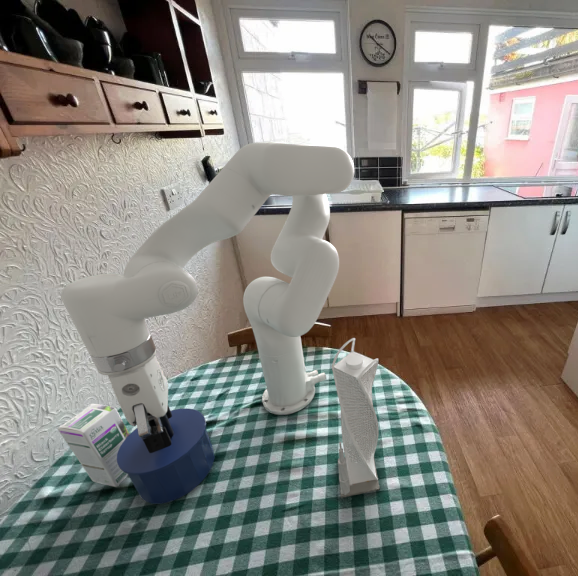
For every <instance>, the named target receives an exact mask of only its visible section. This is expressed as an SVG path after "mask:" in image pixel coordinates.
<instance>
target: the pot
mask: <svg viewBox="0 0 578 576" xmlns="http://www.w3.org/2000/svg"><path fill="white" fill-rule="evenodd" d="M214 462H215V451H214V447H213V444H212V441H211V439H210V436H209V433H208V430H207V429H206V430H205V433H204V435H203V437H202V439H201V440H200V442H199V443H198V444H197V446H196V447H195V448H194V449H193V450H192V451H191V452H190V453H189V454H188V455H186V456H185V457H184V458H182V459H181V460H180V461H178V462H176V463H175V464H173V465H171V466H169V467H167V468H165V469H163V470H160V471H158V472H154V473H151V474H146V475H131V474H128V476H127V477H129V479H130V481H131V483H132V484H133V487H134V488H135V491H136V492H137V493H138V495H139V496H140V498H141V499H142V500H143V501H144V502H146V503H149V504H153V505H163V504H166V503H170V502H173V501H176V500H178V499H180V498H182V497H184V496H186V495H187V494H189V493H190V492H192V491H193V490H194V489H196V488H197V487H198V486H199V485H200V484H201V483H202V482H203V481H204V480H205V479H206V478H207V476H208V474H209V473H210V471H211V470H212V468H213V465H214Z"/></svg>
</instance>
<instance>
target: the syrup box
mask: <svg viewBox="0 0 578 576" xmlns="http://www.w3.org/2000/svg"><path fill="white" fill-rule="evenodd" d="M57 431H58V432H59V434H60V435H61V437H62V438H63V440H64V441H65V443H66V445H67V446H68V448H69V449H70V450H71V451H72V453H73V454H74V456H75V457H76V459H77V461H78V462H79V463H80V465H81V466H82V468H83V469H84V471H85V472H86V474H87V475H88V477H89V478H90V480H91V481H92V482H94V483H97V484H100V485H105V486H110V487H114V488H118V487H119V485H120V484H121V483H122V482H124V480H125V479H126V478H127V477H129V476H128V474H127V473H125V472H123V471H122V470H121V469H120V468H119V466H118V464H117V454H118V450H119V448H120V446H121V445H122V443H123V442H124V440H125V439H126V438H127V437H128V436H129V435H130V434H131V433H130V432H129V431H128V429H127V427H126V425H125V423H124V421H123V419H122V417H121V415H120V413H119V412H118V409H117V408H116V407H114V406H110V405H105V404H99V403H90V404H88V405H87V407H86V408H84V409H83V410H81V411H80V412H79V413H77V414H76V415H74V416H72V417H71V418H70V419H68V420H67V421H66V422H65V423H62V424H61V425H60V426H59V427H58V428H57Z"/></svg>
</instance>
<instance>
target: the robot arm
mask: <svg viewBox="0 0 578 576" xmlns="http://www.w3.org/2000/svg"><path fill="white" fill-rule="evenodd" d="M354 176H355V165H354V161H353V159H352V157H351V156H350V154H349V153H348V152H347V151H346V150H344V149H343V148H342V147H339V146H336V145H317V144H301V143H291V142H282V141H268V142H266V141H265V142H264V141H263V142H262V141H261V142H249V143H247V144H245V145H244V146H242V147H240V148H239V149H238V150H237V151H236V152H235V153H234V154H233V156H232V157H231V158H230V159H229V161H228V162H227V163H225V165H224V166H223V167H222V168H221V169H220V171H219V172H218V173H217V174H216V175H215V176H214V178H213V179H212V180H211V181H210V182H209V183H208V185H206V187H205V188H204V189H203V190H202V191H201V193H200V194H199V195H197V197H196V198H195V199H194V200H193V201H192V202H190V203H189V204H187V205H186V206H185V207H183V208H182V209H181V210H178V212H177V213H175V214H174V215H172V217H170V218H169V219H167V220H166V221H165V222H163V223H162V224H161V225H160V226H158V227H157V228H156V229H155V230H154V232H152V233H151V234H150V235H149V237H147V239H146V240H145V241H144V242H143V243H142V244H141V245H140V247H139V248H138V249H137V250H136V251H135V252H134V253H133V255H132V256H131V257H130V258H129V260H128V261H127V263H126V265H125V267H124V269H123V273H122V274H118V273H99V274H93V275H89V276H85V277H82V278H79V279H75V280H74V281H71V282H70V283H67V285H65V286H64V287H63V288H62V290H61V293H60V298H61V301H62V303H63V306H64V307H65V309H66V311H67V313H68V315H69V317H70V319H71V322H72V323H73V325H74V327H75V329H76V331H77V333H78V335H79V336H80V339H81V341H82V343H83V344H84V347H85V348H86V350H87V352H88V355H89V356H90V358H91V360H92V362H93V364H94V366H95V368H96V370H97V372H98V373H99V374H100V375H103V376H108V380H109V382H110V385H111V388H112V390H113V393H114V395H115V397H116V400H117V403H118V405H119V407H120V409H121V412H122V413H123V416H124V417H125V419H126V421H127V423H128V424H129V425H130V426H132V427H136V428H137V429H138V434H139V437H141V438H142V439H143V441H144V443H145V445H146V447H147V449H148V451H149V453H153V452H156V451H158V450H161V449H163V448H166V447H168V446H170V445H171V439H170V437H169V435H168V433H167V430H166V428H165V427H162V424H161V421H160V417H161V416H162V417H163V416H164V415H165V414H166V415H167V418H168V419H169V418H171V417H172V413H171V408H170V406H169V384H168V379H167V377H166V375H165V374H164V371H163V368H162V367H161V365H160V362H159V360H158V358H157V356H156V355H157V353H158V349H157V347H156V344H155V341H154V339H153V337H152V335H151V332H150V330H149V327H148V324H147V322H146V319H149V318H154V317H159V316H165V315H170V314H174V313H177V312H181V311H183V310H185V309H186V308H188V307H189V306H191V305H192V304H193V303H194V302H195V300H196V298H197V296H198V293H199V286H198V283H197V281H196V279H195V277H194V276H192V274H191V273H190V272H188V271H186V270H185V269H183V268H184V267H185V266H186V265H187V264H188V263H189V262H190V260H191V259H192V258H193V257H194V256H195V255H196V254H197V253H199V252H200V251H201V250H203V249H204V248H206V247H208V246H210V245H212V244H215V243H217V242H220V241H224V240H228V239H230V238H233V237H234V236H238V235H239V234H241V233H242V232H243V230H244V229H245V228H246V227H247V226H248V224H249V223H250V222H251V220H252V219H253V218H254V216H255V215H256V214H257V213H258V211H259V210H260V209H261V207H262V206H263V205H264V204H265V202H266V201H267V200H268V199H269V197H270V196H271V195H277V196H278V195H279V196H283V197H285V196H287V197H292V201H291V202H292V203H291V208H290V210H289V213H288V216H287V218H286V220H285V222H284V224H283V226H282V228H281V230H280V232H279V234H278V236H277V238H276V240H275V242H274V244H273V246H272V249H271V252H270V263H271V265H272V267H273V268H274V269H275V270H276V271H277V272H279V273H281V274H283V275H285V276H287V277H289V278H291V280H290V282H287V281H285V280H283V279H280V278H277V277H274V276H260V277H257V278H255V279H253V280H252V281H251V282H250V283H249V284H248V285H247V286H246V288H245V290H244V293H243V297H242V298H243V299H242V301H243V302H242V304H243V308H244V309H243V310H244V312H245V315H246V317H247V319H248V322H249V324H250V327H251V330H252V333H253V336H254V340H255V343H256V347H257V353H258V357H259V362H260V366H261V370H262V374H263V379H264V384H265V390H264V392H263V394H262V396H261V400H262V401H261V403H262V405H263V407H264V409H265V410H266V411H267V412H269V413H271V414H274V415H277V416H284V415H285V416H286V415H291V414H295V413H297V412H299V411H302V410H303V409H304V408H305V407H307V406H308V405H309V404H310V403H311V402H312V400H313V399H314V397H315V393H316V387H315V386H316V384H317V383H321V382H324V381H326V380H327V374H326V373H325V372H321V373H319V372H318V369H314V370H312V371H310V372H308V371H306V364H305V357H304V351H303V345H302V338H301V336H303V335H305V334H307V333H308V332H309V331H310V330H311V329H312V328H313V327H314V325H315V324H316V322H317V320H318V318H319V316H320V314H321V313H322V310H323V308H324V306H325V303H326V301H327V300H328V297H329V295H330V293H331V290H332V289H333V286H334V284H335V282H336V279H337V277H338V274H339V269H340V256H339V253H338V251H337V248H336V247H335V246H334V245H333V244H332V243H331V242H329V241H327V240H325V239H323V238H324V236H325V234H326V231H327V229H328V226H329V223H330V219H331V208H330V204H329V199H328V196H327V195H328V194H329V195H330V194H331V195H332V194H338V193H341V192H343V191H345V190H347V188H348V187H350V185H351V184H352V182H353V180H354ZM147 413H150V414H151V415H150V416H147ZM151 420H154V421H155V424H156V426H152V427H151V426H150V425H149V422H148V421H151Z"/></svg>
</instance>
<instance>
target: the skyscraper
mask: <svg viewBox="0 0 578 576" xmlns="http://www.w3.org/2000/svg"><path fill="white" fill-rule="evenodd" d="M350 343H351V350H350V352H349V353H347V354H346V355H345V356H343V358H341V359H340V360H339V361H337V359H338V357H339V355H340V354H341V352H342V351H343V350H344V349H345V347H346V346H348V344H350ZM355 344H356V338H355V337H352V338H350V339H348V341H346V342H345V343H344V344H343V345H342V346H341V347H340V348H338V350H337V352H336V354H335V355H334V358H333V361H332V364H331V369H332V374H333V375H332V376H333V379H334V384H335V389H336V390H335V391H336V395H337V398H338V403H339V406H340V428H341V438H342V442H341V441H339V442H338V446H339V448H338V457H339V458H338V459H337V465H338V480H339V490H340V491H339V493H340V498H342V499H343V498H346V497H347V498H348V497H351V496H356V495H361V494H366V493H371V492H376V491H380V485H379V484H380V483H379V477H378V472H377V467H376V462H375V461H376V460H375V453H376V450H377V447H378V441H379V434H380V433H379V430H380V429H379V421H378V417H377V413H376V410H375V407H374V404H373V386H374V382H375V377H376V373H377V369H378V366H379V358H375V359H373V358H370V357H368V356H366V355H364V354H361V353H359V352H357V351H355Z"/></svg>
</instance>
